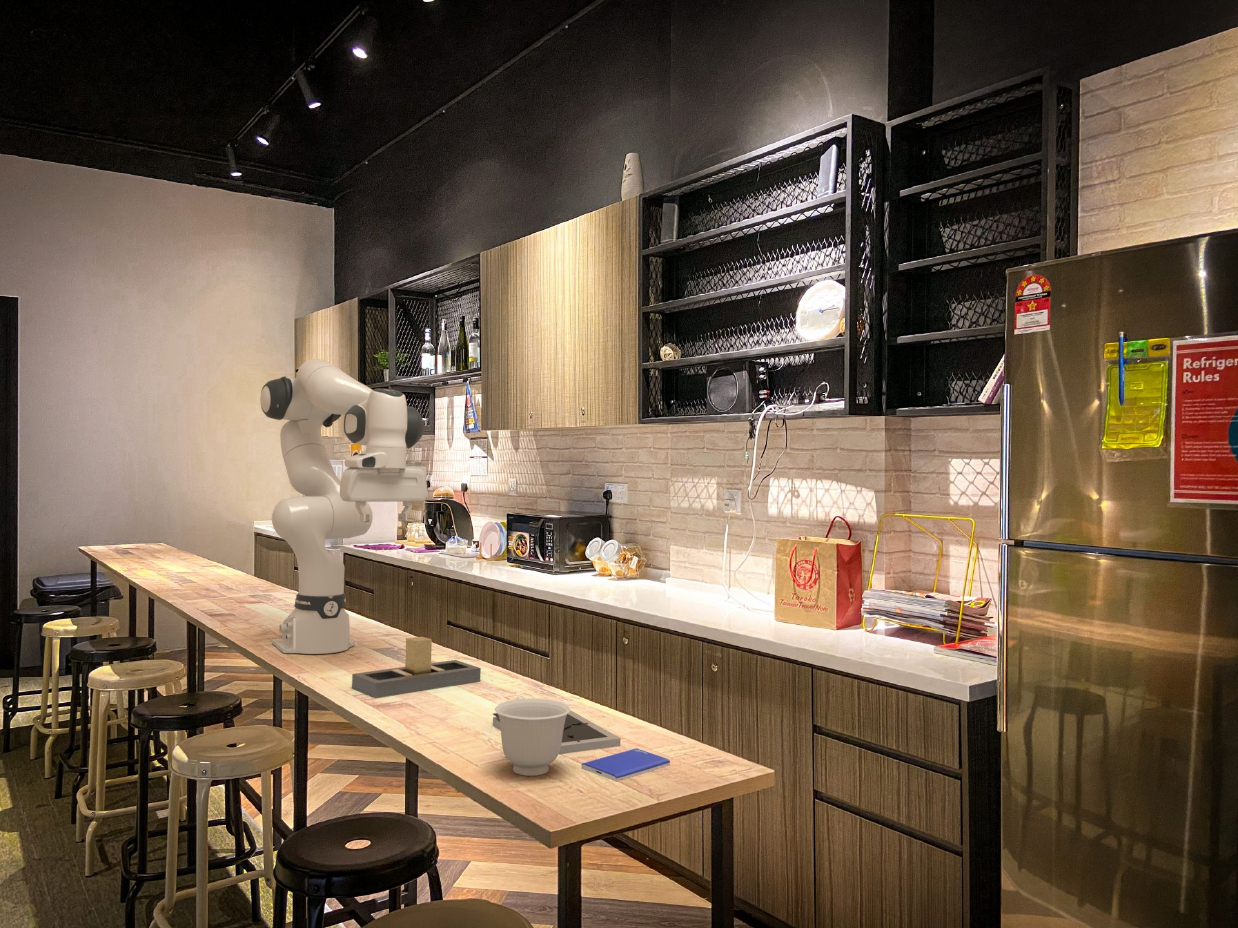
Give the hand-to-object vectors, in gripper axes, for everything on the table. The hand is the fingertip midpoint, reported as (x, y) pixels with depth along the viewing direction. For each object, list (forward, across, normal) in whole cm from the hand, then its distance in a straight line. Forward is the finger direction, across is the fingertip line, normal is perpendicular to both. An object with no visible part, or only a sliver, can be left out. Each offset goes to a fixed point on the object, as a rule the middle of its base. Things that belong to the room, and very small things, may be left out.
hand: (383, 521), depth 210 cm
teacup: (+34, +11, +71) cm, 80 cm away
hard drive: (+35, -2, +80) cm, 88 cm away
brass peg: (+35, -3, +12) cm, 37 cm away
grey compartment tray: (+35, -3, +12) cm, 37 cm away
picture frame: (+35, -4, +60) cm, 69 cm away
